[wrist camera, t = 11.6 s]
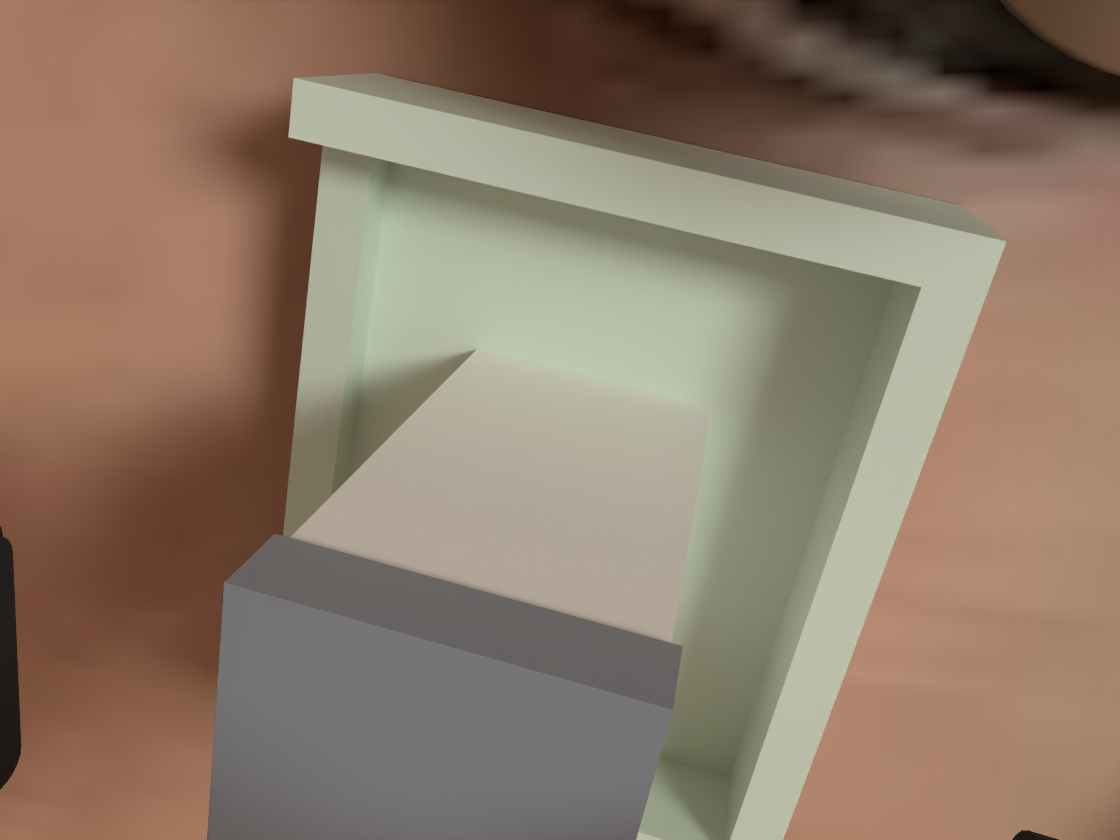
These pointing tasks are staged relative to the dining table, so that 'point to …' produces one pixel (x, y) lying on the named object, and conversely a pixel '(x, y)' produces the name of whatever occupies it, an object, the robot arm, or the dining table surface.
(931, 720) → the dining table surface
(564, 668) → the white grey rectangular block
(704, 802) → the open tray
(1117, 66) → the knob
